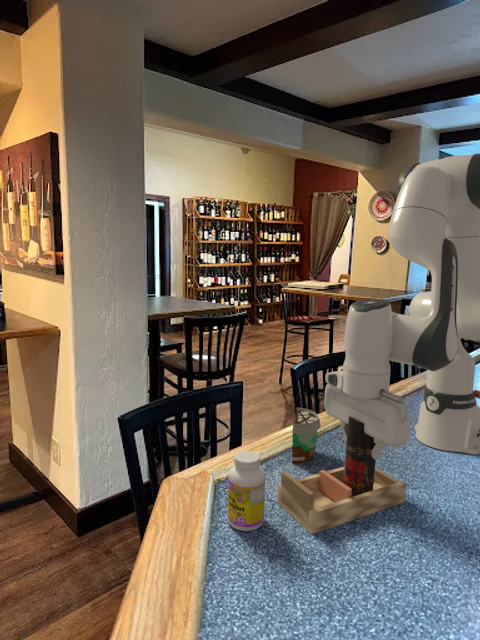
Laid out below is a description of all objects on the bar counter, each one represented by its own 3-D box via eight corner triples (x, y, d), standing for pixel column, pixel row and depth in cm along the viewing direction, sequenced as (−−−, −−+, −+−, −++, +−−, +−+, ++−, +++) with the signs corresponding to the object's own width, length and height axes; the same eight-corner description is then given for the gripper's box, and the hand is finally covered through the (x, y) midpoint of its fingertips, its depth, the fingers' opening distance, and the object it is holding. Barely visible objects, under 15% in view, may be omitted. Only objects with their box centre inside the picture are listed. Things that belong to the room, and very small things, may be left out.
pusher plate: (322, 488, 94) (323, 469, 93) (350, 508, 86) (351, 489, 86) (318, 489, 93) (319, 470, 93) (346, 510, 86) (347, 490, 85)
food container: (318, 469, 105) (320, 427, 103) (291, 466, 106) (292, 425, 104) (320, 446, 117) (321, 408, 115) (295, 444, 118) (297, 406, 116)
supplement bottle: (220, 519, 85) (221, 453, 83) (249, 507, 89) (250, 445, 87) (242, 537, 80) (243, 468, 78) (271, 524, 84) (273, 458, 81)
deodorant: (338, 482, 95) (344, 412, 93) (366, 482, 96) (373, 413, 94) (347, 497, 89) (354, 423, 87) (377, 497, 90) (384, 424, 88)
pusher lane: (366, 477, 101) (367, 447, 100) (405, 501, 92) (407, 469, 90) (277, 503, 90) (278, 470, 89) (311, 534, 81) (313, 497, 80)
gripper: (420, 396, 82) (414, 469, 84) (343, 368, 99) (340, 429, 102) (394, 401, 79) (389, 477, 81) (320, 372, 97) (317, 434, 99)
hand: (361, 450), depth 91 cm, fingers closed on deodorant, 6 cm apart
